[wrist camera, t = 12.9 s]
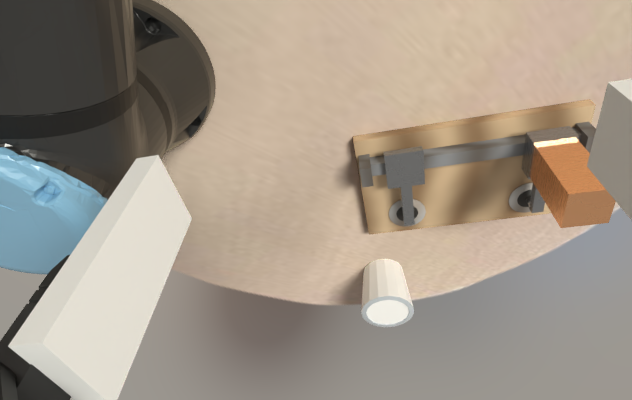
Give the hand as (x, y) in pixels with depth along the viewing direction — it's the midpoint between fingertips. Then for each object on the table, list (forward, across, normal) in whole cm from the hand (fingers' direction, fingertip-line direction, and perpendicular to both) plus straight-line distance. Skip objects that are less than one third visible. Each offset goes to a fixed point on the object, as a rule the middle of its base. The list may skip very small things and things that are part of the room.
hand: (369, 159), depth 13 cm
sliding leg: (+27, +17, -22) cm, 39 cm away
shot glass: (+29, -1, -39) cm, 49 cm away
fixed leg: (+27, +3, -22) cm, 35 cm away
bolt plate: (+29, +10, -23) cm, 38 cm away
